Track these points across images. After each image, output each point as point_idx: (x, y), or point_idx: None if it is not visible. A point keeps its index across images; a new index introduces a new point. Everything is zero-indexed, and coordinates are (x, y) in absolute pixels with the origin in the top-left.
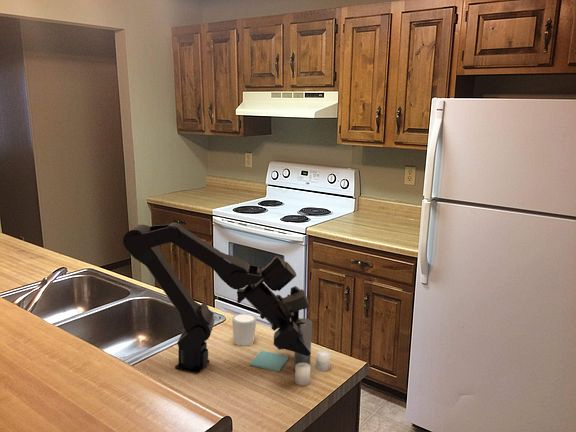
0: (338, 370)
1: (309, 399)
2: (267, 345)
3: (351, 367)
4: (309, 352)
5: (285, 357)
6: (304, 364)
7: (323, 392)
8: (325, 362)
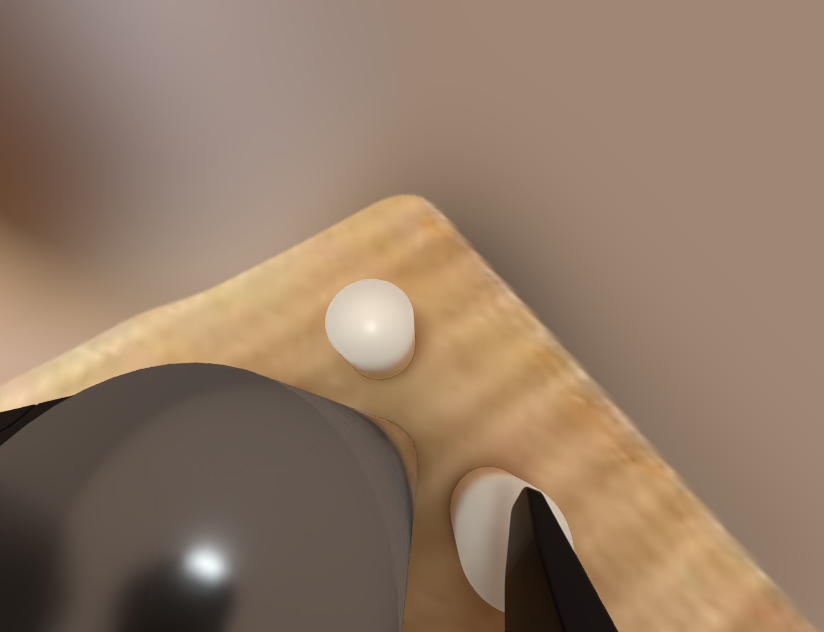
0: (426, 287)
1: (675, 548)
2: None
3: (417, 228)
4: (550, 513)
5: None
6: (490, 517)
7: (608, 438)
8: (414, 334)
